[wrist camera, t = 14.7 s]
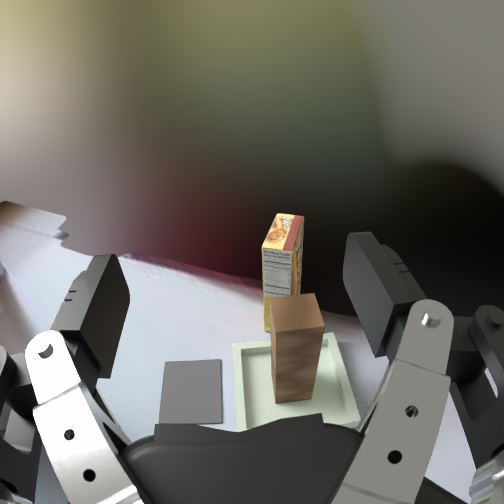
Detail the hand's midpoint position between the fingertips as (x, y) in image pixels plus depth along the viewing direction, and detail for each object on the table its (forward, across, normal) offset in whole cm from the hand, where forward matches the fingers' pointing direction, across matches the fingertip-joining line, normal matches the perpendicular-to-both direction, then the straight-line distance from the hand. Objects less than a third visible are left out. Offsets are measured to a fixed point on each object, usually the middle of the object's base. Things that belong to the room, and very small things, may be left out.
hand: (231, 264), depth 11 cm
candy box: (+26, -6, +30) cm, 40 cm away
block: (+12, -5, +29) cm, 32 cm away
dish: (+12, -5, +30) cm, 33 cm away
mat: (+13, +8, +30) cm, 34 cm away
